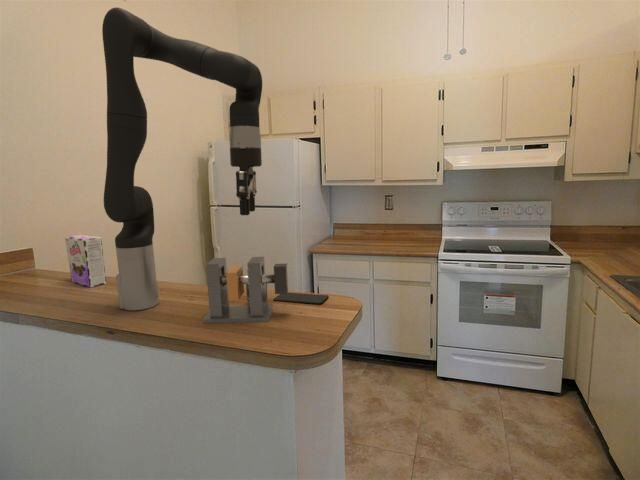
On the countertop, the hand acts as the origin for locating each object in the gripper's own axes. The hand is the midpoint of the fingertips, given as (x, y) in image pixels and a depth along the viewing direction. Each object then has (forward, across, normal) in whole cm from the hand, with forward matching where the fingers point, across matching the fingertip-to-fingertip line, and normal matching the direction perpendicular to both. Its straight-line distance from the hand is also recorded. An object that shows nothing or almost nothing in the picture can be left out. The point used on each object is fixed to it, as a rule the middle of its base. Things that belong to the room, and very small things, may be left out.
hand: (247, 213), depth 96 cm
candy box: (+28, -33, -62) cm, 76 cm away
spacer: (+17, +3, -3) cm, 18 cm away
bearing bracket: (+26, +3, -2) cm, 26 cm away
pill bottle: (+26, -7, 0) cm, 27 cm away
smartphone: (+26, -9, +13) cm, 30 cm away
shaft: (+20, +3, +1) cm, 20 cm away
